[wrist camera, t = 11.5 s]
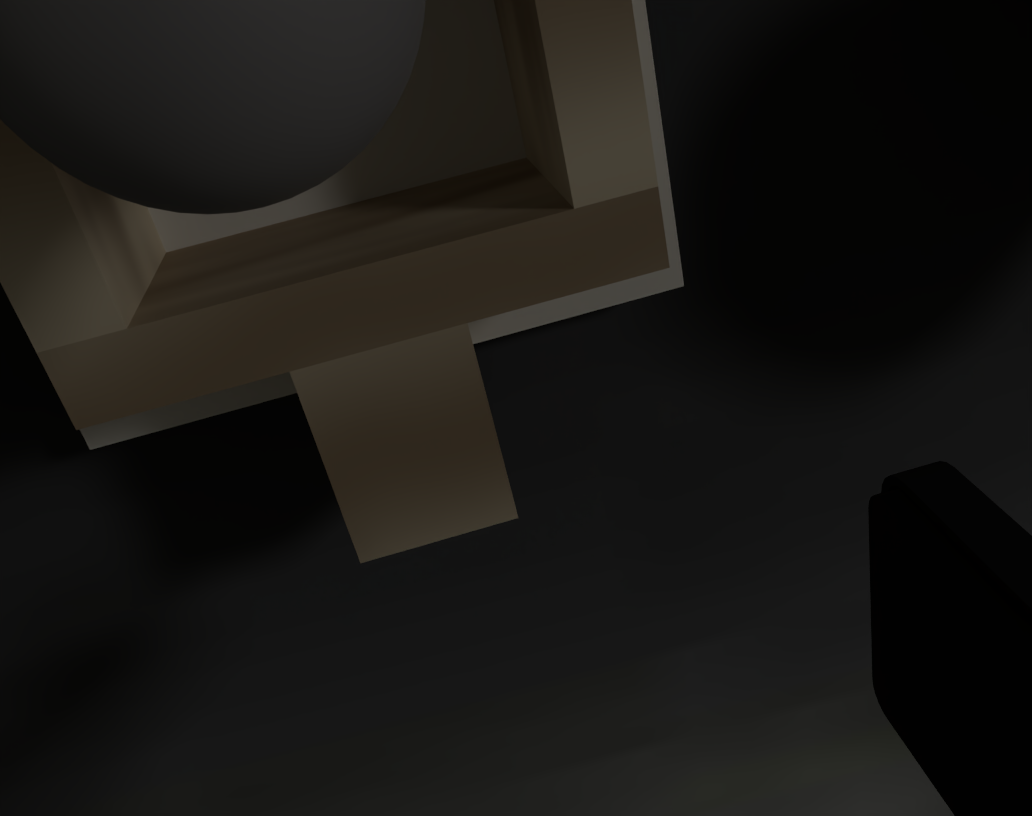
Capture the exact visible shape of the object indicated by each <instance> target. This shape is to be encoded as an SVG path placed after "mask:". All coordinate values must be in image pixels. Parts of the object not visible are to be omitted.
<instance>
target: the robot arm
mask: <svg viewBox="0 0 1032 816" xmlns="http://www.w3.org/2000/svg"><path fill="white" fill-rule="evenodd" d="M869 550H870V592H871V635H872V677H873V686H874V690H875V694H876V697H877V699H878V702H879V704H880V706H881V709H882V711H883V712H884V714H885V716H886V717H887V719H888V720H889V722H890V723H891V725H892V726H893V728H894V729H895V730H896V732H897V733H898V735H899V736H900V738H901V739H902V740H903V742H904V743H905V745H906V746H907V748H908V749H909V751H910V752H911V753H912V755H913V756H914V758H915V759H916V761H917V762H918V764H919V765H920V766H921V768H922V769H923V771H924V772H925V774H926V775H927V776H928V778H929V779H930V781H931V782H932V784H933V785H934V787H935V788H936V789H937V791H938V792H939V794H940V795H941V797H942V798H943V800H944V801H945V802H946V804H947V805H948V807H949V808H950V810H951V811H952V812H953V814H954V815H955V816H1032V536H1031V535H1030V534H1029V533H1028V532H1027V531H1025V530H1024V529H1023V528H1022V527H1021V526H1020V525H1019V524H1018V523H1016V522H1015V521H1014V520H1013V519H1012V518H1011V517H1010V516H1009V515H1007V514H1006V513H1005V512H1004V511H1003V510H1002V509H1001V508H1000V507H998V506H997V505H996V504H995V503H994V502H993V501H992V500H991V499H989V498H988V497H987V496H986V495H985V494H984V493H983V492H982V491H980V490H979V489H978V488H977V487H976V486H975V485H974V484H972V483H971V482H970V481H969V480H968V479H967V478H966V477H965V476H963V475H962V474H961V473H960V472H959V471H958V470H957V469H956V468H954V467H953V466H951V465H950V464H948V463H947V462H942V461H939V462H935V463H932V464H928V465H925V466H921V467H918V468H914V469H911V470H907V471H904V472H900V473H897V474H893V475H890V476H888V477H886V478H885V479H884V482H883V484H882V491H881V493H880V494H877V495H874V496H872V497H871V498H870V501H869Z"/></svg>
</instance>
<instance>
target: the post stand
mask: <svg viewBox="0 0 1032 816" xmlns="http://www.w3.org/2000/svg"><path fill="white" fill-rule="evenodd" d="M632 6H633V13H634V20H635V27H636V34H637V41H638V48H639V55H640V62H641V69H642V76H643V83H644V90H645V97H646V104H647V111H648V118H649V125H650V133H651V140H652V147H653V154H654V161H655V168H656V175H657V182H658V189H659V196H660V203H661V210H662V217H663V224H664V231H665V238H666V245H667V252H668V259H669V266H670V268H667V269H663V270H659V271H656V272H652V273H648V274H645V275H641V276H637V277H634V278H630V279H627V280H623V281H619V282H616V283H612V284H608V285H605V286H601V287H597V288H594V289H590V290H586V291H583V292H579V293H575V294H572V295H568V296H564V297H561V298H557V299H553V300H550V301H546V302H543V303H539V304H535V305H532V306H528V307H524V308H521V309H517V310H513V311H510V312H506V313H502V314H499V315H495V316H491V317H488V318H484V319H480V320H477V321H473V322H469V323H468V327H469V331H470V335H471V339H472V343H473V344H476V343H479V342H483V341H487V340H490V339H494V338H497V337H501V336H505V335H508V334H512V333H515V332H519V331H523V330H526V329H530V328H534V327H537V326H541V325H544V324H548V323H552V322H555V321H559V320H563V319H566V318H570V317H573V316H577V315H581V314H584V313H588V312H592V311H595V310H599V309H602V308H606V307H610V306H613V305H617V304H621V303H624V302H628V301H631V300H635V299H639V298H642V297H646V296H650V295H653V294H657V293H660V292H664V291H668V290H671V289H675V288H679V287H682V286H684V282H683V275H682V267H681V260H680V253H679V245H678V238H677V231H676V223H675V216H674V209H673V201H672V194H671V187H670V179H669V172H668V165H667V158H666V150H665V143H664V136H663V128H662V121H661V114H660V106H659V99H658V92H657V84H656V77H655V70H654V62H653V55H652V48H651V40H650V33H649V26H648V18H647V11H646V4H645V0H632ZM0 119H1V120H2V121H3V123H4V124H5V125H6V126H8V127H9V128H10V129H11V130H12V131H13V132H14V133H15V134H16V135H17V136H18V137H20V138H21V139H22V140H23V141H24V142H25V143H26V144H27V145H28V146H29V147H31V148H32V149H33V150H35V151H36V152H37V153H39V154H40V155H42V156H43V157H44V158H46V159H47V160H48V161H50V162H51V163H53V164H54V165H55V166H57V167H58V168H59V169H61V170H63V171H65V172H66V173H68V174H70V175H71V176H73V177H75V178H77V179H78V180H80V181H82V182H84V183H85V184H87V185H89V186H91V187H94V188H96V189H98V190H101V191H103V192H105V193H107V194H110V195H112V196H114V197H117V198H119V199H123V200H126V201H129V202H132V203H136V204H139V205H142V206H145V207H147V208H148V210H149V212H150V215H151V217H152V220H153V222H154V225H155V227H156V229H157V232H158V234H159V237H160V239H161V241H162V244H163V246H164V249H165V251H166V252H170V251H174V250H178V249H181V248H185V247H189V246H193V245H197V244H200V243H204V242H208V241H212V240H216V239H219V238H223V237H227V236H231V235H234V234H238V233H242V232H246V231H250V230H253V229H257V228H261V227H265V226H269V225H272V224H276V223H280V222H284V221H288V220H291V219H295V218H299V217H303V216H307V215H310V214H314V213H318V212H322V211H326V210H329V209H333V208H337V207H341V206H345V205H348V204H352V203H356V202H360V201H363V200H367V199H371V198H375V197H379V196H382V195H386V194H390V193H394V192H398V191H401V190H405V189H409V188H413V187H417V186H420V185H424V184H428V183H432V182H436V181H439V180H443V179H447V178H451V177H455V176H458V175H462V174H466V173H470V172H473V171H477V170H481V169H485V168H489V167H492V166H496V165H500V164H504V163H508V162H511V161H515V160H519V159H523V158H526V153H525V148H524V143H523V138H522V134H521V129H520V124H519V119H518V114H517V110H516V105H515V100H514V95H513V90H512V86H511V81H510V76H509V71H508V66H507V62H506V57H505V52H504V47H503V42H502V38H501V33H500V28H499V23H498V18H497V14H496V9H495V4H494V0H0ZM294 393H297V391H296V388H295V385H294V383H293V380H292V377H291V375H290V372H287V373H283V374H280V375H276V376H272V377H269V378H265V379H261V380H258V381H254V382H250V383H247V384H243V385H239V386H236V387H232V388H228V389H225V390H221V391H218V392H214V393H210V394H207V395H203V396H199V397H196V398H192V399H188V400H185V401H181V402H177V403H174V404H170V405H166V406H163V407H159V408H155V409H152V410H148V411H145V412H141V413H137V414H134V415H130V416H126V417H123V418H119V419H115V420H112V421H108V422H104V423H101V424H97V425H93V426H90V427H86V428H82V429H80V431H81V433H82V435H83V437H84V439H85V441H86V443H87V445H88V447H89V449H90V450H92V449H95V448H99V447H102V446H106V445H110V444H113V443H117V442H121V441H124V440H128V439H131V438H135V437H139V436H142V435H146V434H150V433H153V432H157V431H160V430H164V429H168V428H171V427H175V426H179V425H182V424H186V423H189V422H193V421H197V420H200V419H204V418H208V417H211V416H215V415H218V414H222V413H226V412H229V411H233V410H237V409H240V408H244V407H247V406H251V405H255V404H258V403H262V402H266V401H269V400H273V399H276V398H280V397H284V396H287V395H291V394H294Z"/></svg>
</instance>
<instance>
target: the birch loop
mask: <svg viewBox="0 0 1032 816" xmlns="http://www.w3.org/2000/svg"><path fill="white" fill-rule="evenodd" d="M494 4H495V9H496V14H497V18H498V23H499V28H500V33H501V38H502V42H503V47H504V52H505V57H506V62H507V66H508V71H509V76H510V81H511V86H512V90H513V95H514V100H515V105H516V110H517V114H518V119H519V124H520V129H521V134H522V138H523V143H524V148H525V153H526V158H523V159H519V160H515V161H511V162H508V163H504V164H500V165H496V166H492V167H489V168H485V169H481V170H477V171H473V172H470V173H466V174H462V175H458V176H455V177H451V178H447V179H443V180H439V181H436V182H432V183H428V184H424V185H420V186H417V187H413V188H409V189H405V190H401V191H398V192H394V193H390V194H386V195H382V196H379V197H375V198H371V199H367V200H363V201H360V202H356V203H352V204H348V205H345V206H341V207H337V208H333V209H329V210H326V211H322V212H318V213H314V214H310V215H307V216H303V217H299V218H295V219H291V220H288V221H284V222H280V223H276V224H272V225H269V226H265V227H261V228H257V229H253V230H250V231H246V232H242V233H238V234H234V235H231V236H227V237H223V238H219V239H216V240H212V241H208V242H204V243H200V244H197V245H193V246H189V247H185V248H181V249H178V250H174V251H170V252H166V251H165V249H164V246H163V244H162V241H161V239H160V237H159V234H158V232H157V229H156V227H155V225H154V222H153V220H152V217H151V215H150V212H149V210H148V208H147V207H145V206H142V205H139V204H136V203H132V202H129V201H126V200H123V199H119V198H117V197H114V196H112V195H110V194H107V193H105V192H103V191H101V190H98V189H96V188H94V187H91V186H89V185H87V184H85V183H84V182H82V181H80V180H78V179H77V178H75V177H73V176H71V175H70V174H68V173H66V172H65V171H63V170H61V169H59V168H58V167H57V166H55V165H54V164H53V163H51V162H50V161H48V160H47V159H46V158H44V157H43V156H42V155H40V154H39V153H37V152H36V151H35V150H33V149H32V148H31V147H29V146H28V145H27V144H26V143H25V142H24V141H23V140H22V139H21V138H20V137H18V136H17V135H16V134H15V133H14V132H13V131H12V130H11V129H10V128H9V127H8V126H6V125H5V124H4V123H3V121H2V120H1V119H0V283H1V285H2V287H3V288H4V290H5V292H6V294H7V296H8V298H9V300H10V302H11V304H12V306H13V308H14V310H15V312H16V314H17V316H18V318H19V320H20V322H21V324H22V326H23V327H24V329H25V331H26V333H27V335H28V337H29V339H30V341H31V343H32V345H33V347H34V349H35V351H36V353H37V355H38V357H39V359H40V361H41V363H42V364H43V366H44V368H45V370H46V372H47V374H48V376H49V378H50V380H51V382H52V384H53V386H54V388H55V390H56V392H57V394H58V396H59V398H60V400H61V402H62V403H63V405H64V407H65V409H66V411H67V413H68V415H69V417H70V419H71V421H72V423H73V425H74V427H75V429H76V430H79V429H82V428H86V427H90V426H93V425H97V424H101V423H104V422H108V421H112V420H115V419H119V418H123V417H126V416H130V415H134V414H137V413H141V412H145V411H148V410H152V409H155V408H159V407H163V406H166V405H170V404H174V403H177V402H181V401H185V400H188V399H192V398H196V397H199V396H203V395H207V394H210V393H214V392H218V391H221V390H225V389H228V388H232V387H236V386H239V385H243V384H247V383H250V382H254V381H258V380H261V379H265V378H269V377H272V376H276V375H280V374H283V373H287V372H290V375H291V377H292V380H293V383H294V385H295V388H296V391H297V394H298V396H299V399H300V402H301V404H302V407H303V410H304V412H305V415H306V418H307V420H308V423H309V426H310V429H311V431H312V434H313V437H314V439H315V442H316V445H317V447H318V450H319V453H320V455H321V458H322V461H323V463H324V466H325V469H326V472H327V474H328V477H329V480H330V482H331V485H332V488H333V490H334V493H335V496H336V498H337V501H338V504H339V507H340V509H341V512H342V515H343V517H344V520H345V523H346V525H347V528H348V531H349V533H350V536H351V539H352V541H353V544H354V547H355V550H356V552H357V555H358V558H359V560H360V563H363V562H366V561H370V560H373V559H377V558H380V557H384V556H387V555H391V554H394V553H398V552H401V551H405V550H408V549H412V548H415V547H418V546H422V545H425V544H429V543H432V542H436V541H439V540H443V539H446V538H450V537H453V536H457V535H460V534H464V533H467V532H471V531H474V530H477V529H481V528H484V527H488V526H491V525H495V524H498V523H502V522H505V521H509V520H512V519H516V518H518V515H517V511H516V507H515V503H514V500H513V496H512V492H511V488H510V484H509V480H508V477H507V473H506V469H505V465H504V461H503V457H502V454H501V450H500V446H499V442H498V438H497V434H496V431H495V427H494V423H493V419H492V415H491V411H490V408H489V404H488V400H487V396H486V392H485V388H484V385H483V381H482V377H481V373H480V369H479V365H478V362H477V358H476V354H475V350H474V346H473V343H472V339H471V335H470V331H469V327H468V323H469V322H473V321H477V320H480V319H484V318H488V317H491V316H495V315H499V314H502V313H506V312H510V311H513V310H517V309H521V308H524V307H528V306H532V305H535V304H539V303H543V302H546V301H550V300H553V299H557V298H561V297H564V296H568V295H572V294H575V293H579V292H583V291H586V290H590V289H594V288H597V287H601V286H605V285H608V284H612V283H616V282H619V281H623V280H627V279H630V278H634V277H637V276H641V275H645V274H648V273H652V272H656V271H659V270H663V269H667V268H670V266H669V259H668V252H667V245H666V238H665V231H664V224H663V217H662V210H661V203H660V196H659V189H658V182H657V175H656V168H655V161H654V154H653V147H652V140H651V133H650V125H649V118H648V111H647V104H646V97H645V90H644V83H643V76H642V69H641V62H640V55H639V48H638V41H637V34H636V27H635V20H634V13H633V6H632V0H494Z"/></svg>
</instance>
